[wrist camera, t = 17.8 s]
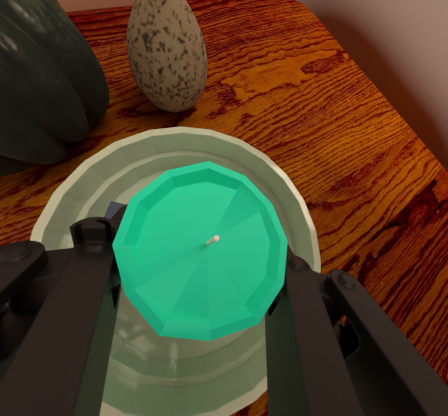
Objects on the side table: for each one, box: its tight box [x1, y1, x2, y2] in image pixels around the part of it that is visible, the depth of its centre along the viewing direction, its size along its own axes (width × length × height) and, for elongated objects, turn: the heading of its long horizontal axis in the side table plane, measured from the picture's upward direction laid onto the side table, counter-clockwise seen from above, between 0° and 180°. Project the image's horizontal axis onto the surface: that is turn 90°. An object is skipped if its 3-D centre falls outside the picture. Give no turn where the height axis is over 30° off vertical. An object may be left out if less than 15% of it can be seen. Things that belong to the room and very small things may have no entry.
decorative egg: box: [127, 0, 207, 112], centre depth 17 cm, size 7×7×10 cm
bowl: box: [30, 127, 321, 416], centre depth 15 cm, size 19×19×6 cm
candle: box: [112, 161, 288, 341], centre depth 10 cm, size 6×6×12 cm
